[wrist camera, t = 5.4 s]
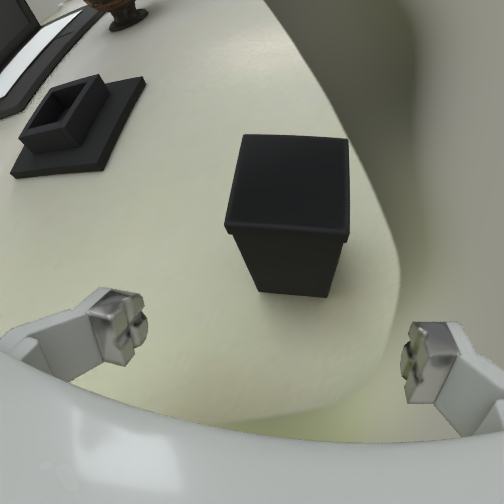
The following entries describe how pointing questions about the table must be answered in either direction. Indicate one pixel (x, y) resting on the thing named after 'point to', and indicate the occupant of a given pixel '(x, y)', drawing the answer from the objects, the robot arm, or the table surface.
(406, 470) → the robot arm
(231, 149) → the table surface
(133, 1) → the vase
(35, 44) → the laptop
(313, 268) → the black tall box
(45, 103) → the base pad
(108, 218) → the table surface
